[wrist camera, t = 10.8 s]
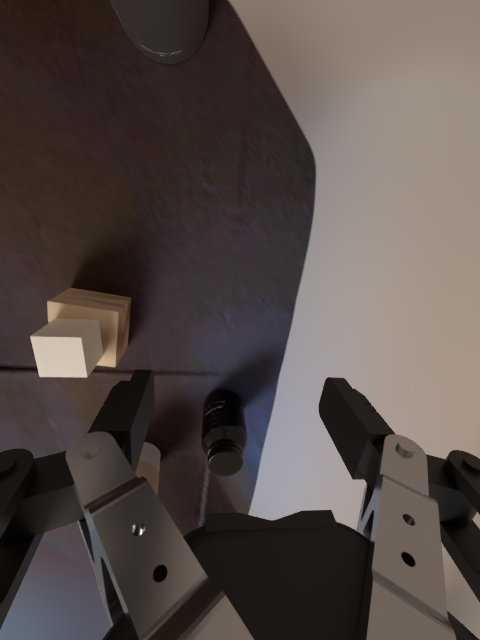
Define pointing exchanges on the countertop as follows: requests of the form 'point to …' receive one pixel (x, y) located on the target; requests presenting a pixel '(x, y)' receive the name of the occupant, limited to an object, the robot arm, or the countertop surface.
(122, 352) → the oak block
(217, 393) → the supplement bottle
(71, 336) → the cream cube
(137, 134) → the countertop surface
